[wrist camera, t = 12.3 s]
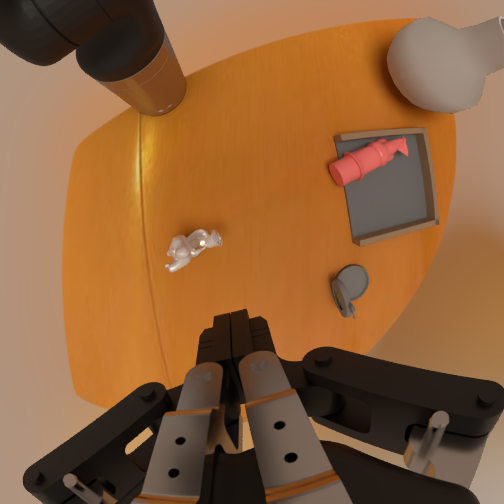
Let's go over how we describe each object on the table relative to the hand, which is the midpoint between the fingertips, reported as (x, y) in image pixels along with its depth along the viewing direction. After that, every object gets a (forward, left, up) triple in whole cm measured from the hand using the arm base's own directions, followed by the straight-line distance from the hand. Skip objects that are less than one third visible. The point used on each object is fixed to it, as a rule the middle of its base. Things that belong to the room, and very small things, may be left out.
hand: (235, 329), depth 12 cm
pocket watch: (+15, +17, -32) cm, 39 cm away
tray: (-1, +28, -32) cm, 43 cm away
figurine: (+1, -6, -32) cm, 33 cm away
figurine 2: (-4, +17, -29) cm, 34 cm away
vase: (-20, +38, -32) cm, 54 cm away
